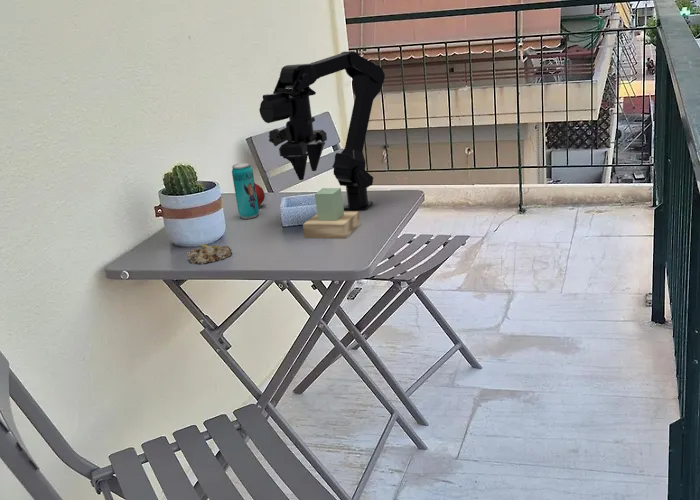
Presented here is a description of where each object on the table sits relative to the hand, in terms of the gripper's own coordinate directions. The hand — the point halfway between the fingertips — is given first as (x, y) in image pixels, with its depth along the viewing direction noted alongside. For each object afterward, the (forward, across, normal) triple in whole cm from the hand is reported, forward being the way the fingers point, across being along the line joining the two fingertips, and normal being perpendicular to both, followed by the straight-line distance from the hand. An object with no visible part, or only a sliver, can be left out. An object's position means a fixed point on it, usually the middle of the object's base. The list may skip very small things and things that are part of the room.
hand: (307, 175), depth 196 cm
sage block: (+10, +7, +8) cm, 14 cm away
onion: (+13, -15, -24) cm, 31 cm away
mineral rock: (+14, +27, -17) cm, 35 cm away
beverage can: (+13, -6, -22) cm, 26 cm away
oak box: (+14, +7, +8) cm, 17 cm away
